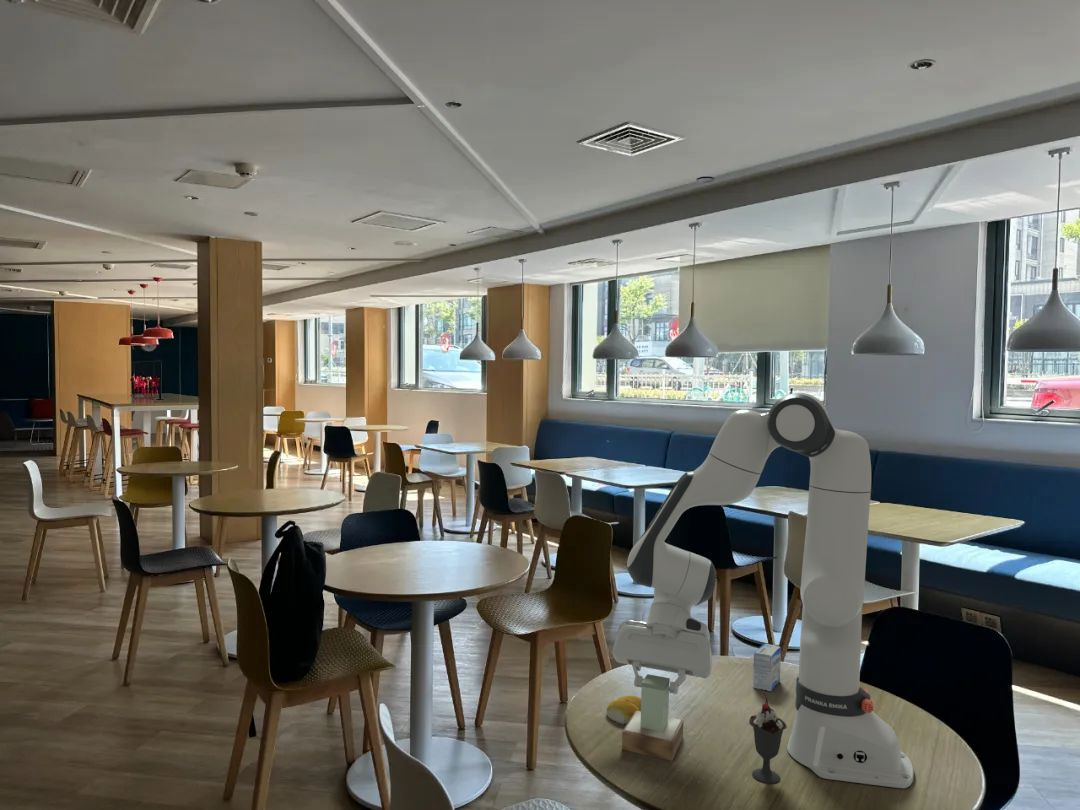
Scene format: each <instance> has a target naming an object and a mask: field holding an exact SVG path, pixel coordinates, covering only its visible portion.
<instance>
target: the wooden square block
mask: <svg viewBox="0 0 1080 810" xmlns="http://www.w3.org/2000/svg"><path fill="white" fill-rule="evenodd" d="M640 723H641V712H640V711H635V713H634V714H633V716H632V717H631V719H630V721H629V722H628V724H625V727H624V728H623V730H622V733H621V734H622V735H621V736H622V737H621V750H623V751H628V752H632V753H635V752H636V754H640V755H645V756H650V757H654V758H659V759H662V760H667V761H670V760H672V761H673V760H674V758H675V757H676V754H675V753H677V752H678V750H679V747H680V745H681V743H682V742H683V741H682V740H683V739H684V720H683V719H679V718H674V717H669V716H668V724H667V725H666V727H665V729H664V731H663V732H660V731H655V730H650V729H646V728H641V727H640ZM677 749H678V750H677ZM676 751H677V752H676Z"/></svg>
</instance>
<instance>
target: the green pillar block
mask: <svg viewBox="0 0 1080 810" xmlns="http://www.w3.org/2000/svg"><path fill="white" fill-rule="evenodd" d="M643 679H644V680H643V681H642V682H641V686H642V688H641V690H640V691H641V694H640V695H641V696H640V698H641V723H640V727H641V728H646V729H650V730H655V731H660V732H663V731H664V729H665V727H666V725H667V724H668V717H669V707H670V705H669V703H670V691H669V687H670V679H671V678H669V677H664V676H658V675H655V674H648V673H647V674H646V676H645V677H643Z"/></svg>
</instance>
